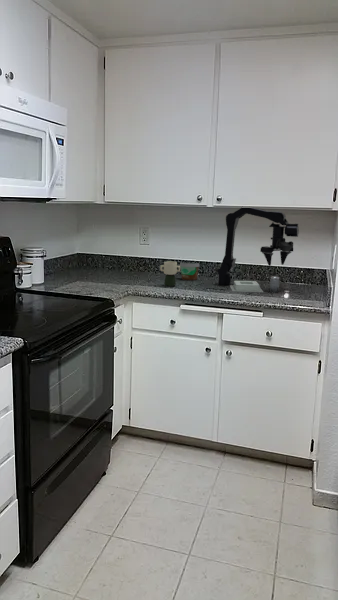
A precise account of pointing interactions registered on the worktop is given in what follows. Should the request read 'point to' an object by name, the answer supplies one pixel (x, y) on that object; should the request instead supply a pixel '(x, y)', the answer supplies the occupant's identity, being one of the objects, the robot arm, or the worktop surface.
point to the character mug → (170, 272)
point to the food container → (189, 271)
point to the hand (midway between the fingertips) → (276, 265)
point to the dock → (246, 287)
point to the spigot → (274, 284)
